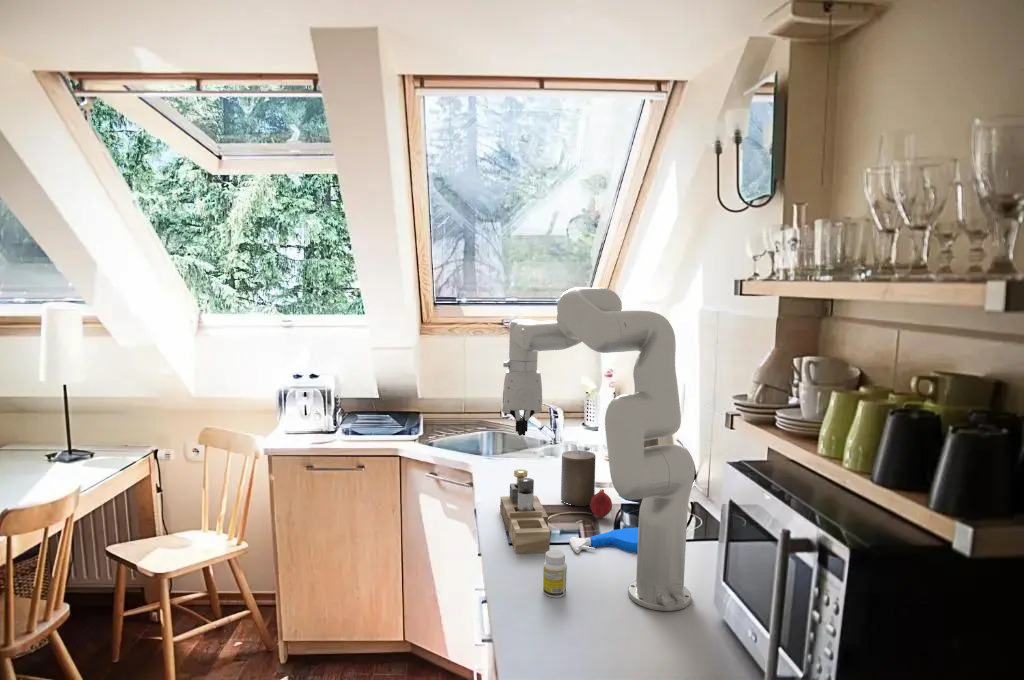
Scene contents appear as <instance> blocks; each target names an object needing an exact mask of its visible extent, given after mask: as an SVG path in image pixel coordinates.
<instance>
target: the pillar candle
mask: <svg viewBox="0 0 1024 680" xmlns="http://www.w3.org/2000/svg"><path fill="white" fill-rule="evenodd" d="M595 480H596V454H595V453H594V452H591V451H589V450H588V451H587V450H581V449H580V450H575V449H574V450H568V451H564V452H563V453H561V477H560V483H561V485H560V501H561V500H562V501H563V502H565V503H568V504H571V505H575V506H574V507H587V506H586V505H589V506H590V503H591V499H592V497H593V496H594V495H595V494H596V493H595V492H596V491H595V490H596V489H595V488H596V486H595V484H596V481H595ZM562 501H561V502H562ZM563 502H562V503H563ZM571 505H570V506H571Z"/></svg>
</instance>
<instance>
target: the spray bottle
mask: <svg viewBox="0 0 1024 680" xmlns="http://www.w3.org/2000/svg"><path fill="white" fill-rule="evenodd" d="M569 545H570V547H571V549H572V551H574V553H575V554H579V553H580V552H581V551H582V550H589V551H590V550H591V551H596V550H597V549H596V548H597V547H600V546H601V547H602V546H603V547H611V546H612V547H615V548H618V549H619V550H622V551H626V552H628V551H629V552H628V553H633V552H636V553H635V554H637V549H638V527H626V528H625V527H624V528H619V529H618V528H617V529H611V530H610V531H607V532H603V533H598V534H596V535H592V536H589V537H575V536H571V538H570V539H569ZM589 546H592V547H589ZM593 547H595V548H593Z"/></svg>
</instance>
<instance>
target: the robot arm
mask: <svg viewBox="0 0 1024 680" xmlns="http://www.w3.org/2000/svg"><path fill="white" fill-rule="evenodd" d="M622 309H623V304H622V300H621V297H620V296H619V295H618V294H617V292H615V291H614V290H611V289H609V288H605V287H573V288H570V289H569V288H568V290H565V291H564V292H563V293H562V294H561V295H560V297H559V298H558V301H557V306H556V310H557V311H556V312H557V314H556V320H546V321H545V320H543V321H536V320H533V319H526V318H525V319H524V318H523V319H514V320H512V321H511V322H510V324H509V342H508V343H509V344H508V345H509V348H508V349H509V351H508V360H507V361H504V362H503V368H506V369H508V370H506V371H505V372H506V373H505V376H504V381H503V392H502V408H501V411H502V413H503V414H508V415H511V416H512V417H513V418H514V419H515V432H516V433H517V434H518V436H526V432H528V429H529V428H528V421H529V420H530V419H531V417H533V415H535V414H540V413H542V412H543V409H542V407H543V383H542V375H541V372H540V371H539V370H538V358H539V357H538V354H539V353H538V352H545V351H548V352H549V351H562V350H567V349H569V348H572V347H574V346H577V345H579V344H581V343H584V345H586V346H587V347H588V348H589V349H590V350H592V351H594V352H598V353H601V354H610V353H625V352H635V351H636V352H640V353H639V354H638V356H637V357H636V360H635V363H634V366H633V367H634V368H633V371H632V374H633V375H632V378H633V383H634V392H632V393H631V392H630V393H624V394H621V395H618V396H615V397H614V398H613V399H612V400H611V401H610V402H609V403H608V405H607V408H606V412H605V416H604V427H605V438H606V439H605V440H606V449H607V450H606V451H607V457H608V458H607V459H608V465H609V466H608V467H609V474H610V479H611V484H612V486H613V488H614V489H615V491H616V493H617V494H618V495H619V496H620V497H622V498H623V499H625V500H629V501H631V500H633V501H637V500H641V503H640V506H639V512H638V527H637V528H638V549H637V553H636V554H637V555H636V557H637V558H636V576H635V577H636V578H635V580H633V581H632V582H631V583H629V585H628V587H627V594H628V597H629V598H630V599H631V600H632V601H633V602H634V603H636V604H637V605H638V606H641V607H643V608H647V609H650V610H654V611H662V612H663V611H664V612H673V611H679V610H683V609H684V608H686V607H688V606H689V605H690V604H691V600H692V593H691V591H690V590H689V589H688V588H687V587H686V586H685V585H684V584H685V568H686V566H685V564H686V550H687V549H686V548H687V547H686V546H687V545H686V544H687V543H686V542H687V528H688V527H687V526H688V510H689V503H690V502H689V501H690V497H691V493H692V489H693V485H694V479H695V471H696V470H695V468H696V467H695V463H694V460H693V457H692V455H691V454H690V452H689V451H688V450H687V449H686V448H685V447H682V446H680V445H678V444H675V443H673V444H672V443H665V444H664V443H663V444H657V445H651V446H646V447H645V441H651V440H657V439H662V438H668V437H670V436H673V435H675V434H676V433H677V432H679V429H680V428H681V424H682V423H681V422H682V420H681V419H682V414H681V405H680V395H679V394H680V393H679V387H678V378H677V372H676V371H677V370H676V350H677V349H676V348H677V344H676V335H675V331H674V328H673V326H672V324H671V322H670V321H669V320H668V319H667V318H666V317H665V316H664V315H662V314H660V313H658V312H656V311H655V312H654V311H650V310H649V311H648V310H622ZM520 411H523V415H522V418H521V414H520V413H521V412H520Z"/></svg>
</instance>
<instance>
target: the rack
mask: <svg viewBox="0 0 1024 680" xmlns="http://www.w3.org/2000/svg"><path fill="white" fill-rule="evenodd" d="M508 536H509V539H510V538H511V539H510V541H512V542H511V545H512V546H513V549H514V553H515V552H516V553H515V554H531V553H532V554H533V553H546V552H547V551H549V550H551V548H550V545H551V543H550V540H551V539H550V538H551V531H550V528H549V526H548V527H547V525H546V523H545V521H544V519H543V517H542V511H517V512H510V517H509V533H508Z"/></svg>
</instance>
